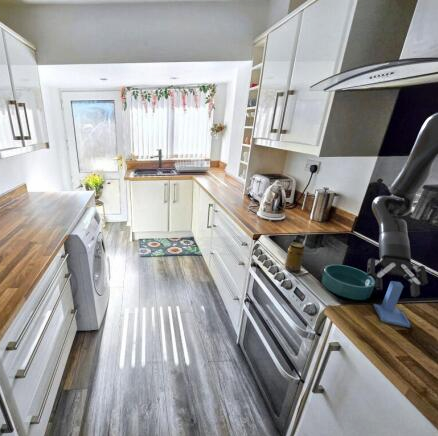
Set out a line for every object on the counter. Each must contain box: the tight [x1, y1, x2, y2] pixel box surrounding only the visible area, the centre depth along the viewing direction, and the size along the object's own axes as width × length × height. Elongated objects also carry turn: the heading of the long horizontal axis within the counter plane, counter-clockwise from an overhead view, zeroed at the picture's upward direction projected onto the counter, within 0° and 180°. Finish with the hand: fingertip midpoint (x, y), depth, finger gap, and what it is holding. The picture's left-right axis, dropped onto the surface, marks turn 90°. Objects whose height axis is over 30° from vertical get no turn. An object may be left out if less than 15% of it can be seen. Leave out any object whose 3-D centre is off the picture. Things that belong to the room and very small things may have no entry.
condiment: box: [280, 241, 309, 276], centre depth 105 cm, size 7×8×12 cm
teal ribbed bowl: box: [321, 263, 375, 301], centre depth 93 cm, size 15×15×6 cm
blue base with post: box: [373, 280, 411, 329], centre depth 78 cm, size 8×7×11 cm
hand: (396, 293), depth 78 cm, fingers open, 8 cm apart
